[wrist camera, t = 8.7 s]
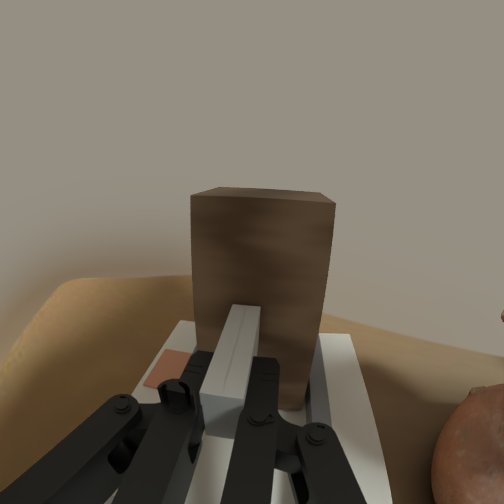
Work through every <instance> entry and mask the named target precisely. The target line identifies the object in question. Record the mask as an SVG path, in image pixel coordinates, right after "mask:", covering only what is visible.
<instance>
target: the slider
mask: <svg viewBox="0 0 504 504" xmlns="http://www.w3.org/2000/svg"><path fill="white" fill-rule="evenodd" d="M335 208H336V203H335V202H333V201H331V200H330V199H329V198H327V197H326V196H324V195H323V194H321V193H317V192H304V191H291V190H275V189H256V188H230V187H218V188H214V189H211V190H207V191H204V192H200V193H197V194H194V195H191V256H192V282H193V300H194V316H195V329H196V341H197V350H201V351H208V352H215V350H216V347H217V344H218V342H219V339H220V336H221V334H222V331H223V329H224V326H225V323H226V321H227V318H228V315H229V313H230V310H231V307H232V305H233V304H236V305H247V306H259V307H261V310H260V327H259V343H258V352H257V357H269V358H276V359H277V361H278V363H279V365H280V377H279V396H278V409H280V410H301V409H302V405H303V401H304V397H305V393H306V388H307V384H308V380H309V375H310V371H311V366H312V362H313V357H314V352H315V347H316V342H317V337H318V332H319V326H320V321H321V315H322V309H323V302H324V297H325V290H326V284H327V277H328V270H329V262H330V254H331V246H332V238H333V228H334V218H335Z"/></svg>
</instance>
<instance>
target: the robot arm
mask: <svg viewBox="0 0 504 504" xmlns="http://www.w3.org/2000/svg"><path fill="white" fill-rule="evenodd" d="M260 310H261V307H259V306H247V305H236V304H233V305H232V307H231V310H230V313H229V315H228V318H227V321H226V323H225V326H224V329H223V331H222V334H221V336H220V339H219V342H218V344H217V347H216V350H215V352H208V351H201V350H197V351H196V352H195V353H194V354H192V355H191V356H190V358H189V360H188V362H187V365H186V366H185V368H184V371H183V372H182V374H181V376H180V379H175V378H173V379H168V380H165V381H163V382H161V383H160V384H159V385H158V386H157V389H158V393H159V397H160V401H161V402H159V403H138V401H137V399H135V398H134V397H133V396H131V395H128V394H119V395H115V396H113V397H112V398H110V399H109V400H108V401H107V402H105V403H104V404H103V405H102V406H101V407H100V408H99V409H98V410H96V411H95V412H94V413H93V414H92V415H91V416H90V417H88V418H87V419H86V420H85V421H84V422H83V423H82V424H81V425H79V426H78V427H77V428H76V429H75V430H74V431H73V432H71V433H70V434H69V435H68V436H67V437H66V438H64V439H63V440H62V441H61V442H60V443H59V444H58V445H56V446H55V447H54V448H53V449H52V450H51V451H49V452H48V453H47V454H46V455H45V456H44V457H42V458H41V459H40V460H39V461H38V462H37V463H35V464H34V465H33V466H32V467H31V468H29V469H28V470H27V471H26V472H25V473H24V474H22V475H21V476H20V477H19V478H18V479H16V480H15V481H14V482H13V483H12V484H10V485H9V486H8V487H7V488H6V489H4V490H3V491H2V492H1V493H0V504H104V503H105V502H106V501H107V500H108V499H109V498H110V497H111V496H112V495H113V493H114V492H115V491H116V490H117V489H118V490H117V492H116V494H115V496H114V499H113V501H112V503H111V504H185V501H186V497H187V494H188V491H189V488H190V484H191V481H192V478H193V475H194V471H195V468H196V465H197V462H198V458H199V455H200V452H201V449H202V435H203V432H204V429H205V435H209V436H214V437H220V438H227V439H234V443H233V448H232V453H231V457H230V462H229V466H228V471H227V475H226V480H225V484H224V489H223V493H222V497H221V502H220V504H271V498H272V488H273V477H274V468H275V469H278V470H281V471H284V472H287V474H288V478H289V482H290V485H291V489H292V493H293V496H294V500H295V504H367V502H366V500H365V498H364V495H363V493H362V491H361V489H360V486H359V484H358V482H357V480H356V477H355V475H354V473H353V470H352V468H351V466H350V464H349V461H348V459H347V457H346V455H345V452H344V450H343V448H342V446H341V443H340V441H339V439H338V437H337V434H336V432H335V431H334V430H333V428H332V427H330V426H329V425H327V424H324V423H320V422H312V423H309V424H306V425H304V426H303V427H302V426H298V425H295V424H292V423H290V422H287V421H286V420H284V419H283V418H282V417H281V415H280V414H279V412H278V396H279V377H280V365H279V363H278V361H277V359H276V358H269V357H257V352H258V343H259V327H260Z"/></svg>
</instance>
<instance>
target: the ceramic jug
mask: <svg viewBox="0 0 504 504" xmlns="http://www.w3.org/2000/svg"><path fill="white" fill-rule="evenodd" d="M501 319H502V321H503V322H504V311H503V312H502V314H501ZM431 484H432V492H433V496H434V500H435V503H436V504H504V384H499V385H493V386H489V387H485V386H482V387H474V388H472V389H471V390H470V392H469V394H468V396H467V398H466V399H465V400H464V401H463V402H462V403H461V404H460V405H459V406H458V407H457V408H456V409H455V410H454V411H453V413H452V414H451V415H450V417H449V418H448V420H447V421H446V423H445V425H444V426H443V428H442V431H441V433H440V435H439V437H438V440H437V443H436V446H435V450H434V454H433V460H432V468H431Z"/></svg>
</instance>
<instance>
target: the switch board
mask: <svg viewBox="0 0 504 504" xmlns="http://www.w3.org/2000/svg"><path fill="white" fill-rule="evenodd" d="M196 351H197V341H196V329H195V322H191V321H184V320H180V321H179V323H178V324H177V326H176V327H175V329H174V330H173V332H172V333H171V335H170V336H169V338H168V339H167V341H166V342H165V344H164V345H163V347H162V348H161V350H160V351H159V353H158V354H157V356H156V357H155V359H154V360H153V362H152V363H151V365H150V366H149V368H148V370H147V371H146V373H145V374H144V376H143V377H142V379H141V380H140V382H139V383H138V385H137V387H136V388H135V390H134V391H133V393H132V394H131V396H133V397H134V398H135V399H137V401H138V403H159V402H161V401H160V397H159V393H158V389H157V386H158V385H159V384H160V383H161V382H163V381H165V380H168V379H173V378H175V379H180V376H181V374H182V372H183V371H184V368H185V366H186V365H187V362H188V360H189V358H190V356H191V355H192V354H194V353H195V352H196ZM278 412H279V414H280V415H281V417H282V418H283V419H284V420H286V421H287V422H290V423H292V424H295V425H298V426H302V427H303V426H304V425H306V424H309V423H312V422H320V423H324V424H327V425H329V426H330V427H332V428H333V430H334V431H335V432H336V434H337V437H338V439H339V441H340V443H341V446H342V448H343V450H344V452H345V455H346V457H347V459H348V461H349V464H350V466H351V468H352V470H353V473H354V475H355V477H356V480H357V482H358V484H359V486H360V489H361V491H362V493H363V495H364V498H365V500H366V502H367V504H393V503H392V497H391V491H390V486H389V481H388V476H387V471H386V466H385V461H384V457H383V452H382V448H381V443H380V439H379V435H378V431H377V427H376V423H375V419H374V415H373V412H372V408H371V404H370V401H369V397H368V393H367V390H366V386H365V383H364V380H363V376H362V373H361V370H360V366H359V363H358V360H357V357H356V353H355V350H354V347H353V344H352V341H351V338H350V335H349V334H328V333H319V332H318V337H317V342H316V347H315V352H314V357H313V362H312V366H311V371H310V375H309V380H308V384H307V388H306V393H305V397H304V401H303V405H302V409H301V410H280V409H278ZM233 443H234V439H227V438H220V437H214V436H209V435H205V429H204V432H203V435H202V449H201V452H200V455H199V458H198V462H197V465H196V468H195V471H194V475H193V478H192V481H191V484H190V488H189V491H188V494H187V497H186V501H185V504H220V502H221V497H222V493H223V489H224V484H225V480H226V475H227V471H228V466H229V462H230V457H231V453H232V448H233ZM117 490H118V489H117ZM117 490H116V491H115V492H114V493H113V495H112V496H111V497H110V498H109V499H108V500H107V501H106V502H105V503H104V504H111V503H112V501H113V499H114V496H115V494H116V492H117ZM271 504H295V500H294V496H293V493H292V489H291V485H290V482H289V478H288V474H287V472H284V471H281V470H278V469H275V468H274V477H273V488H272V498H271Z"/></svg>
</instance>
